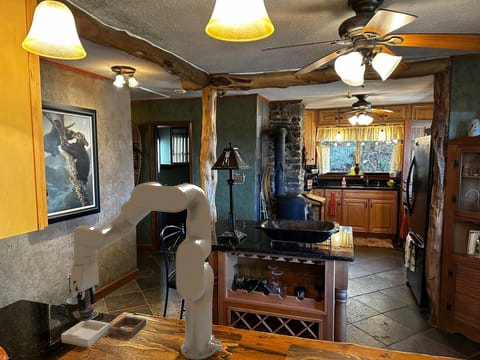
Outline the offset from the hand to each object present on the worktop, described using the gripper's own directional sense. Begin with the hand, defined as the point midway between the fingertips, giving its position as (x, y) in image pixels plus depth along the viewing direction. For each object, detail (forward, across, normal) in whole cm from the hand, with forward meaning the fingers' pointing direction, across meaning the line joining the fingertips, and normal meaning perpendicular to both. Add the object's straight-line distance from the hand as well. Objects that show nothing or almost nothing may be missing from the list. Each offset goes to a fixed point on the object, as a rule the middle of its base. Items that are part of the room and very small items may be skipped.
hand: (86, 305), depth 123 cm
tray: (+12, 0, 0) cm, 12 cm away
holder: (+12, -9, +12) cm, 19 cm away
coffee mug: (+12, -7, -12) cm, 19 cm away
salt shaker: (+5, 0, 0) cm, 5 cm away
